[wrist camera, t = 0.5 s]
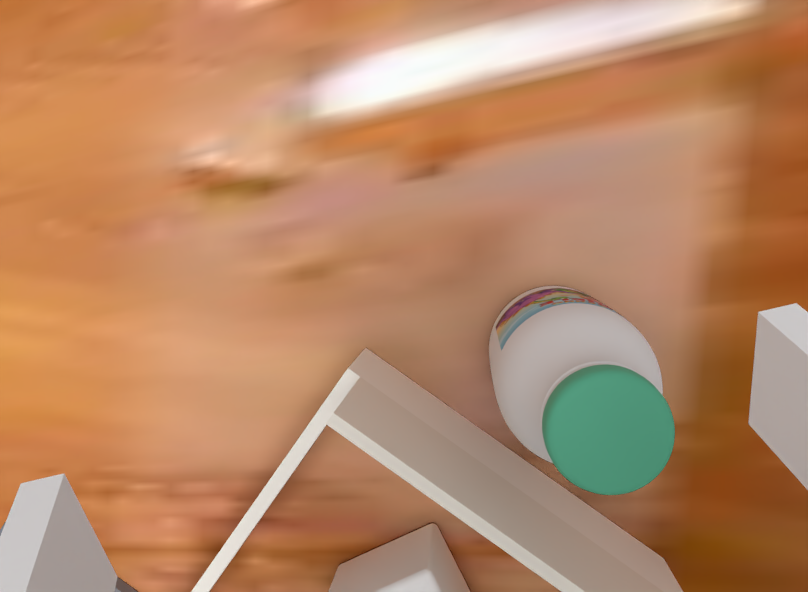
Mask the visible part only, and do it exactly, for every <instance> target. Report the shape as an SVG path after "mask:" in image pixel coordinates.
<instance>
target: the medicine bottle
mask: <svg viewBox="0 0 808 592" xmlns="http://www.w3.org/2000/svg"><path fill="white" fill-rule="evenodd" d="M328 592H470V590H469V588H468V586H467V584H466V582H465V580H464V578H463V576H462V574H461V572H460V570H459V568H458V566H457V564H456V562H455V560H454V558H453V556H452V554H451V552H450V550H449V548H448V546H447V544H446V542H445V540H444V538H443V536H442V534H441V532H440V530H439V528H438V526H437V525H436V524H434V523H431V524H429V525H426V526H424V527H422V528H420V529H418V530H415V531H413V532H411V533H409V534H406V535H404V536H402V537H400V538H398V539H395V540H393V541H391V542H389V543H386V544H384V545H382V546H380V547H378V548H375V549H373V550H371V551H369V552H367V553H364V554H362V555H360V556H358V557H355V558H353V559H351V560H349V561H347V562H344V563H342V564H340V565H339V566H338V568H337V571H336V573H335V576H334V578H333V581H332V584H331V586H330V589H329V591H328Z"/></svg>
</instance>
